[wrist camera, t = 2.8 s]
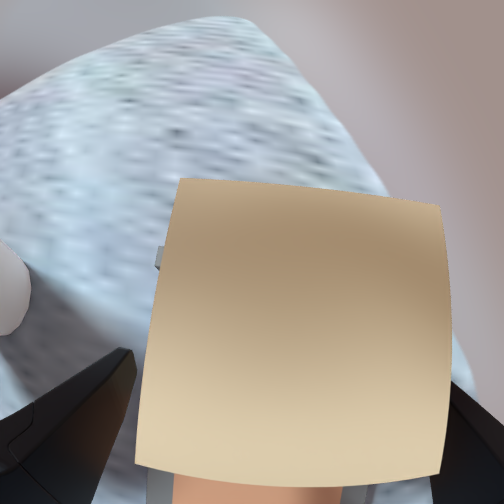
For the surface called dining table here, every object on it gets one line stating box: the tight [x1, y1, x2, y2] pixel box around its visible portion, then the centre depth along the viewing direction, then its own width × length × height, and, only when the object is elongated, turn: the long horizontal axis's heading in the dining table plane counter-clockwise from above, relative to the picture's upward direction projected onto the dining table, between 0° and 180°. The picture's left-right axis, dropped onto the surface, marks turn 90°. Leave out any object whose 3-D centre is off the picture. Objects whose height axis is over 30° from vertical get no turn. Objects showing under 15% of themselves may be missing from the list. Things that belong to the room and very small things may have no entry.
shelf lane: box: [146, 246, 369, 504], centre depth 14 cm, size 16×12×4 cm
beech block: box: [135, 178, 452, 487], centre depth 10 cm, size 5×5×12 cm
